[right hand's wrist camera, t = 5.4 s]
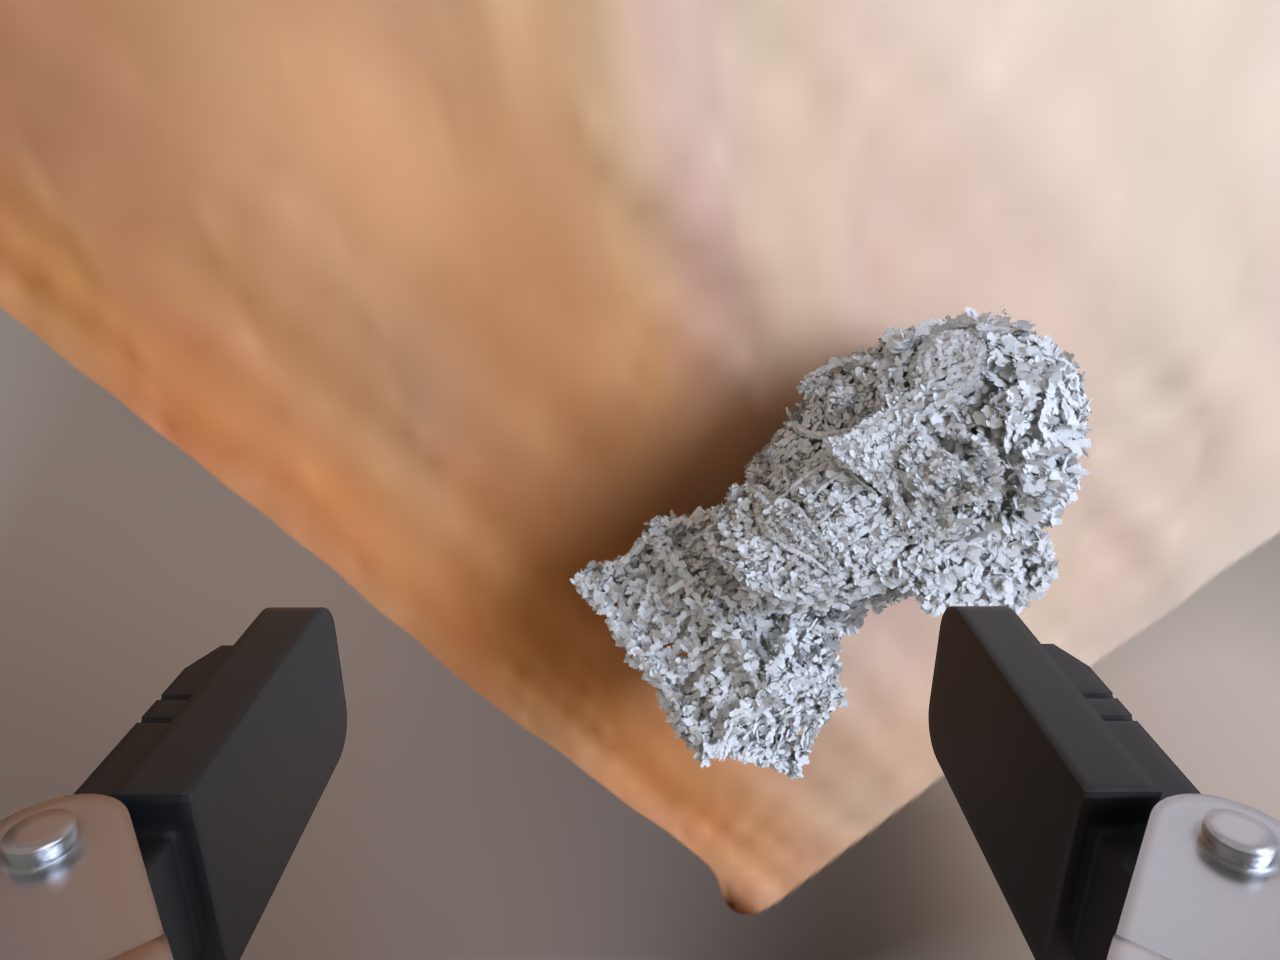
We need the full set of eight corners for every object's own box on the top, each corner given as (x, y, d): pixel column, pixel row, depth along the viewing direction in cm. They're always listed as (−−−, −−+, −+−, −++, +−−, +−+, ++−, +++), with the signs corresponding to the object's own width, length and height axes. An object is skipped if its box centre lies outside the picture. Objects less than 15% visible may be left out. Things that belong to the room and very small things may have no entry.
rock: (842, 815, 52) (1220, 473, 44) (698, 866, 39) (1201, 388, 31) (684, 607, 61) (973, 292, 53) (522, 590, 48) (875, 165, 40)
